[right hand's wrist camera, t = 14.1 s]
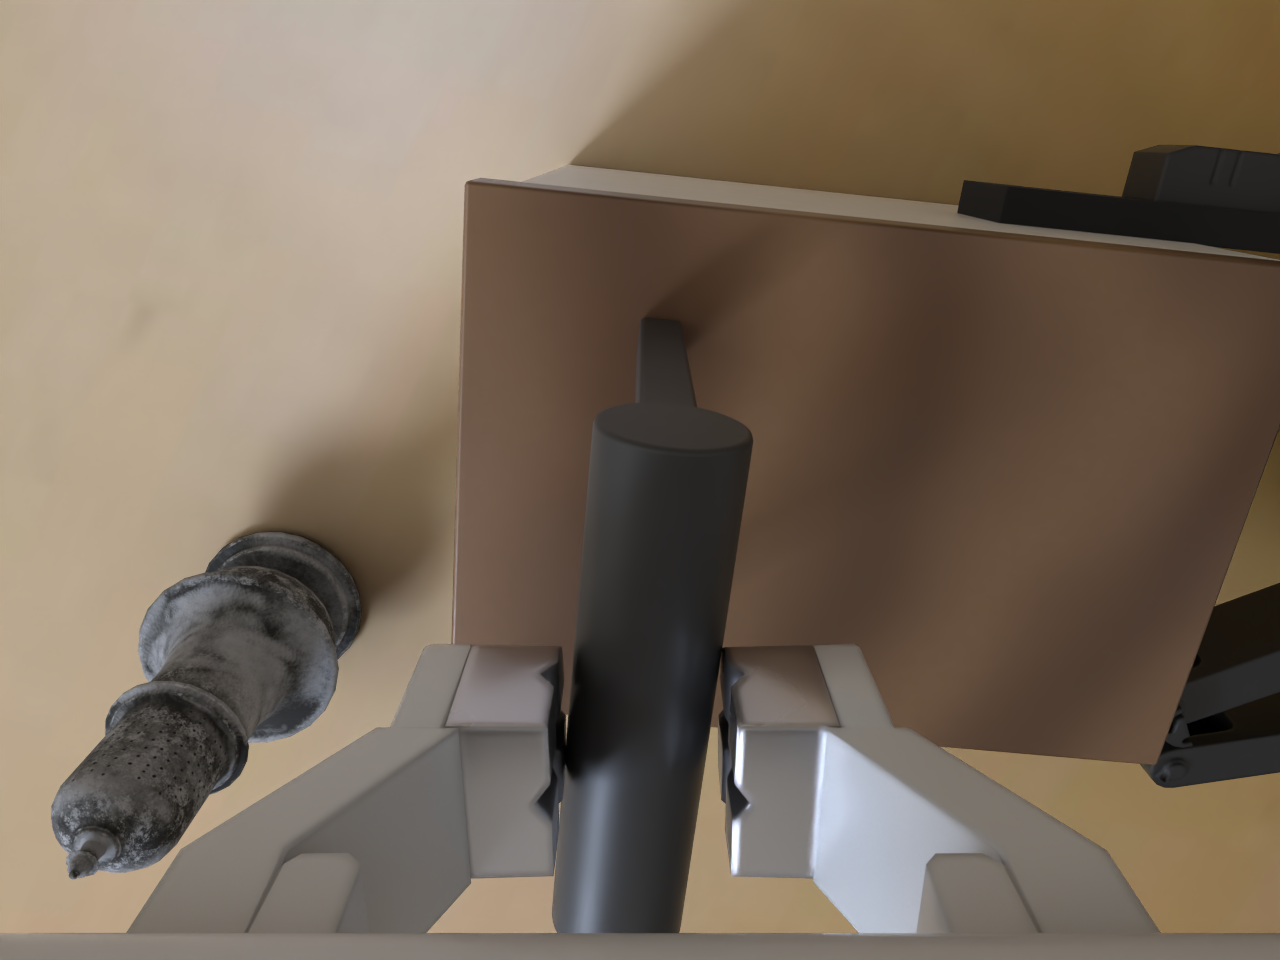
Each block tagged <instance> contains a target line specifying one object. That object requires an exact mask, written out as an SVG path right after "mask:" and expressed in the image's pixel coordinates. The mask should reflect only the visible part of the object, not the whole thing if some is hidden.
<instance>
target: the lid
mask: <svg viewBox="0 0 1280 960" xmlns="http://www.w3.org/2000/svg"><path fill="white" fill-rule="evenodd" d="M1279 427H1280V261H1277V260H1268V259H1258V258H1248V257H1239V256H1229V255H1219V254H1210V253H1200V252H1190V251H1181V250H1171V249H1162V248H1152V247H1142V246H1133V245H1123V244H1113V243H1104V242H1094V241H1084V240H1075V239H1065V238H1055V237H1046V236H1036V235H1026V234H1017V233H1007V232H997V231H988V230H978V229H968V228H959V227H949V226H940V225H930V224H920V223H911V222H901V221H891V220H882V219H872V218H862V217H853V216H843V215H833V214H824V213H814V212H804V211H795V210H785V209H775V208H766V207H756V206H746V205H737V204H727V203H718V202H708V201H698V200H689V199H679V198H669V197H660V196H650V195H640V194H631V193H621V192H611V191H602V190H592V189H582V188H573V187H563V186H553V185H544V184H534V183H524V182H515V181H505V180H496V179H486V178H479V179H474V180H470V181H467V182H466V184H465V196H464V230H463V265H462V299H461V334H460V368H459V403H458V437H457V472H456V506H455V541H454V575H453V610H452V644H471V645H472V646H474V645H520V646H562V652H563V664H564V688H563V696H562V704H561V710H562V711H563V712H564V714H568V727H567V738H566V765H565V782H564V792H563V800H562V801H561V810H560V822H559V835H558V846H557V858H556V869H555V881H554V893H553V905H552V918H553V923H554V927H555V929H556V931H557V933H679V931H680V926H681V920H682V913H683V907H684V900H685V893H686V887H687V880H688V873H689V867H690V860H691V853H692V847H693V840H694V834H695V827H696V820H697V814H698V807H699V800H700V794H701V787H702V780H703V774H704V767H705V760H706V754H707V747H708V740H709V734H710V727H718V715H719V714H720V713H721V711H722V710H723V702H722V694H721V687H720V663H721V654H722V648H724V647H751V646H792V645H831V644H855V645H857V646H858V647H860V649H861V652H862V654H863V656H864V658H865V661H866V663H867V665H868V667H869V670H870V672H871V674H872V676H873V679H874V681H875V683H876V685H877V688H878V690H879V692H880V694H881V697H882V699H883V701H884V703H885V706H886V708H887V710H888V712H889V715H890V717H891V719H892V721H893V724H894V726H895V728H910V729H911V730H913V731H915V732H916V733H918V734H919V735H921V736H923V737H924V738H926V739H927V740H929V741H931V742H932V743H934V744H936V745H937V746H940V747H951V748H963V749H975V750H986V751H998V752H1010V753H1021V754H1033V755H1045V756H1056V757H1068V758H1079V759H1091V760H1103V761H1114V762H1126V763H1138V764H1149V765H1155V764H1157V762H1158V759H1159V757H1160V754H1161V751H1162V748H1163V746H1164V743H1165V740H1166V737H1167V735H1168V732H1169V729H1170V726H1171V724H1172V721H1173V718H1174V715H1175V713H1176V710H1177V707H1178V704H1179V702H1180V699H1181V696H1182V693H1183V691H1184V688H1185V685H1186V682H1187V680H1188V677H1189V674H1190V671H1191V669H1192V666H1193V663H1194V660H1195V658H1196V655H1197V652H1198V649H1199V647H1200V644H1201V641H1202V638H1203V636H1204V633H1205V630H1206V628H1207V625H1208V622H1209V619H1210V617H1211V614H1212V611H1213V608H1214V606H1215V603H1216V600H1217V597H1218V595H1219V592H1220V589H1221V586H1222V584H1223V581H1224V578H1225V575H1226V573H1227V570H1228V567H1229V564H1230V562H1231V559H1232V556H1233V553H1234V551H1235V548H1236V545H1237V542H1238V540H1239V537H1240V534H1241V531H1242V529H1243V526H1244V523H1245V520H1246V518H1247V515H1248V512H1249V509H1250V507H1251V504H1252V501H1253V498H1254V496H1255V493H1256V490H1257V487H1258V485H1259V482H1260V479H1261V476H1262V474H1263V471H1264V468H1265V465H1266V463H1267V460H1268V457H1269V454H1270V452H1271V449H1272V446H1273V443H1274V441H1275V438H1276V435H1277V432H1278V430H1279Z"/></svg>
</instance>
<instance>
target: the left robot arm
mask: <svg viewBox="0 0 1280 960" xmlns="http://www.w3.org/2000/svg"><path fill="white" fill-rule="evenodd" d="M957 213H959V214H963V215H968V216H972V217H976V218H980V219H984V220H989V221H993V222H997V223H1003V224H1012V225H1022V226H1032V227H1041V228H1051V229H1060V230H1070V231H1080V232H1089V233H1099V234H1109V235H1118V236H1128V237H1138V238H1147V239H1157V240H1167V241H1176V242H1186V243H1195V244H1200V245H1205V246H1211V247H1221V248H1230V249H1240V250H1249V251H1259V252H1268V253H1278V254H1280V153H1279V154H1269V153H1260V152H1251V151H1240V150H1232V149H1222V148H1214V147H1205V146H1195V145H1157V146H1154V147H1150V148H1147V149H1143V150H1140V151H1137V152H1134V155H1133V158H1132V162H1131V166H1130V169H1129V173H1128V177H1127V180H1126V184H1125V187H1124V191H1123V195H1122V197H1117V196H1107V195H1098V194H1088V193H1079V192H1070V191H1060V190H1051V189H1041V188H1032V187H1022V186H1013V185H1004V184H994V183H985V182H975V181H966V180H964V183H963V188H962V192H961V197H960V202H959V206H958V211H957ZM1140 765H1141V766H1142V767H1143V769H1144V770H1145V771H1146V772H1147V774H1148V775H1149V776H1150V777H1151V779H1152V780H1153V781H1154V782H1155V783H1156V784H1157V785H1159V786H1162V787H1165V788H1174V787H1181V786H1188V785H1195V784H1202V783H1209V782H1216V781H1223V780H1230V779H1237V778H1244V777H1250V776H1257V775H1264V774H1271V773H1278V772H1280V583H1278V584H1275V585H1272V586H1270V587H1267V588H1264V589H1261V590H1259V591H1256V592H1253V593H1250V594H1248V595H1245V596H1242V597H1239V598H1237V599H1234V600H1231V601H1228V602H1225V603H1223V604H1220V605H1217V606H1214V608H1213V611H1212V614H1211V617H1210V619H1209V622H1208V625H1207V628H1206V630H1205V633H1204V636H1203V638H1202V641H1201V644H1200V647H1199V649H1198V652H1197V655H1196V658H1195V660H1194V663H1193V666H1192V669H1191V671H1190V674H1189V677H1188V680H1187V682H1186V685H1185V688H1184V691H1183V693H1182V696H1181V699H1180V702H1179V704H1178V707H1177V710H1176V713H1175V715H1174V718H1173V721H1172V724H1171V726H1170V729H1169V732H1168V735H1167V737H1166V740H1165V743H1164V746H1163V748H1162V751H1161V754H1160V757H1159V759H1158V762H1157V764H1155V765H1149V764H1140Z"/></svg>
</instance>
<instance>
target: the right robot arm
mask: <svg viewBox="0 0 1280 960" xmlns="http://www.w3.org/2000/svg"><path fill="white" fill-rule="evenodd" d="M720 687H721V694H722V702H723V710H722V711H721V713H720V714H719V715H718V769H719V781H720V791H721V800H722V801H723V802H725V803H726V817H725V832H726V840H727V847H728V854H729V862H730V869H731V876H744V877H781V878H814V883H815V884H816V885H817V887H818V888H819V889H820V890H821V891H822V892H823V893H824V894H825V895H826V897H827V898H828V899H829V900H830V901H831V902H832V903H833V904H834V905H835V907H836V908H837V909H838V910H839V911H840V912H841V913H842V914H843V915H844V916H845V918H846V919H847V920H848V921H849V922H850V923H851V924H852V925H853V926H854V928H855V929H856V930H857V931H858V932H859V933H427V931H428V930H429V929H430V928H431V927H432V926H433V925H434V924H435V923H436V921H437V920H438V919H439V918H440V917H441V916H442V915H443V914H444V913H445V911H446V910H447V909H448V908H449V907H450V906H451V905H452V904H453V903H454V901H455V900H456V899H457V898H458V897H459V896H460V895H461V894H462V893H463V891H464V890H465V889H466V888H467V887H468V886H469V885H470V884H471V878H503V877H538V876H553V875H554V867H555V859H556V851H557V843H558V835H559V803H560V802H561V801H562V800H563V792H564V782H565V765H566V715H565V714H564V712H563V711H562V710H561V704H562V696H563V688H564V664H563V652H562V646H520V645H474V646H472V645H471V644H437V645H429V646H427V647H425V648H424V649H423V651H422V654H421V656H420V658H419V661H418V663H417V665H416V668H415V670H414V672H413V675H412V677H411V679H410V682H409V684H408V686H407V689H406V691H405V693H404V696H403V698H402V700H401V703H400V705H399V707H398V710H397V712H396V714H395V717H394V719H393V721H392V723H391V726H390V728H375V729H374V730H372V731H371V732H369V733H367V734H366V735H364V736H363V737H361V738H359V739H358V740H356V741H354V742H353V743H351V744H350V745H348V746H346V747H345V748H343V749H342V750H340V751H338V752H337V753H335V754H334V755H332V756H330V757H329V758H327V759H325V760H324V761H322V762H321V763H319V764H317V765H316V766H314V767H313V768H311V769H309V770H308V771H306V772H305V773H303V774H301V775H300V776H298V777H297V778H295V779H293V780H292V781H290V782H288V783H287V784H285V785H284V786H282V787H280V788H279V789H277V790H276V791H274V792H272V793H271V794H269V795H268V796H266V797H264V798H263V799H261V800H259V801H258V802H256V803H255V804H253V805H251V806H250V807H248V808H247V809H245V810H243V811H242V812H240V813H239V814H237V815H235V816H234V817H232V818H231V819H229V820H227V821H226V822H224V823H222V824H221V825H219V826H218V827H216V828H214V829H213V830H211V831H210V832H208V833H206V834H205V835H203V836H202V837H200V838H198V839H197V840H195V841H193V842H192V843H190V844H189V845H187V846H185V847H184V848H182V849H181V850H180V851H179V853H178V855H177V856H176V858H175V859H174V861H173V862H172V864H171V865H170V867H169V868H168V870H167V871H166V873H165V874H164V876H163V877H162V879H161V881H160V882H159V884H158V885H157V887H156V888H155V890H154V891H153V893H152V894H151V896H150V897H149V899H148V900H147V902H146V904H145V905H144V907H143V908H142V910H141V911H140V913H139V914H138V916H137V917H136V919H135V920H134V922H133V923H132V925H131V927H130V928H129V930H128V931H127V933H0V960H1280V933H1160V931H1159V930H1158V928H1157V927H1156V925H1155V923H1154V922H1153V920H1152V919H1151V917H1150V916H1149V914H1148V913H1147V911H1146V910H1145V908H1144V907H1143V905H1142V904H1141V902H1140V901H1139V899H1138V897H1137V896H1136V894H1135V893H1134V891H1133V890H1132V888H1131V887H1130V885H1129V884H1128V882H1127V881H1126V879H1125V878H1124V876H1123V875H1122V873H1121V872H1120V870H1119V868H1118V867H1117V865H1116V864H1115V862H1114V861H1113V859H1112V858H1111V856H1110V855H1109V853H1108V852H1107V850H1105V849H1103V848H1102V847H1100V846H1098V845H1097V844H1095V843H1094V842H1092V841H1090V840H1089V839H1087V838H1086V837H1084V836H1082V835H1081V834H1079V833H1077V832H1076V831H1074V830H1073V829H1071V828H1069V827H1068V826H1066V825H1065V824H1063V823H1061V822H1060V821H1058V820H1057V819H1055V818H1053V817H1052V816H1050V815H1048V814H1047V813H1045V812H1044V811H1042V810H1040V809H1039V808H1037V807H1036V806H1034V805H1032V804H1031V803H1029V802H1027V801H1026V800H1024V799H1023V798H1021V797H1019V796H1018V795H1016V794H1015V793H1013V792H1011V791H1010V790H1008V789H1007V788H1005V787H1003V786H1002V785H1000V784H998V783H997V782H995V781H994V780H992V779H990V778H989V777H987V776H986V775H984V774H982V773H981V772H979V771H977V770H976V769H974V768H973V767H971V766H969V765H968V764H966V763H965V762H963V761H961V760H960V759H958V758H956V757H955V756H953V755H952V754H950V753H948V752H947V751H945V750H944V749H942V748H940V747H939V746H937V745H936V744H934V743H932V742H931V741H929V740H927V739H926V738H924V737H923V736H921V735H919V734H918V733H916V732H915V731H913V730H911V729H910V728H895V726H894V724H893V721H892V719H891V717H890V715H889V712H888V710H887V708H886V706H885V703H884V701H883V699H882V697H881V694H880V692H879V690H878V688H877V685H876V683H875V681H874V679H873V676H872V674H871V672H870V670H869V667H868V665H867V663H866V661H865V658H864V656H863V654H862V652H861V649H860V647H858V646H857V645H855V644H831V645H792V646H751V647H724V648H722V654H721V663H720Z"/></svg>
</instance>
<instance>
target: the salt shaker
mask: <svg viewBox="0 0 1280 960" xmlns="http://www.w3.org/2000/svg"><path fill="white" fill-rule="evenodd" d="M361 614H362V609H361V603H360V596H359V592H358V590H357V587H356V585H355V583H354V581H353V578H352V576H351V575H350V573H349V572H348V571H347V570H346V568H345V567H344V566H343V565H342V563H341V562H340V561H339V560H338V559H337V558H336V557H335V556H333V555H332V554H331V553H330V552H328V551H327V550H326V549H325V548H323V547H322V546H320V545H318V544H316V543H314V542H312V541H310V540H308V539H305V538H303V537H301V536H296V535H292V534H287V533H283V532H258V533H255V534H251V535H248V536H244V537H240V538H238V539H237V540H235V541H233V542H232V543H230V544H228V545H227V546H225V547H223V548H222V549H221V550H220V552H219V553H218V554H217V555H216V556H215V557H214V558H213V559H212V561H211V562H210V563H209V565H208V567H207V570H206V572H205V573H202V574H199V575H195V576H191V577H188V578H184V579H183V580H181V581H179V582H178V583H176V584H174V585H173V586H171V587H169V588H168V589H166V590H164V591H163V592H162V593H161V595H160V596H159V597H158V598H157V599H156V600H155V602H154V603H153V604H152V605H151V606H150V607H149V608H148V610H147V612H146V615H145V617H144V620H143V622H142V625H141V627H140V631H139V648H138V652H139V656H140V660H141V664H142V668H143V672H144V675H145V677H146V678H147V680H148V682H149V683H144V684H140V685H137V686H135V687H133V688H132V689H130V690H128V691H126V692H125V693H123V694H122V695H121V696H120V697H119V699H118V700H117V701H116V702H115V703H114V704H113V705H112V706H111V708H110V711H109V713H108V716H107V718H106V726H105V737H104V738H103V739H102V740H101V742H100V743H99V744H98V745H97V746H96V747H95V748H94V749H93V751H92V752H91V753H90V754H89V755H88V756H87V757H86V758H85V759H84V761H83V762H82V763H81V764H80V765H79V766H78V767H77V768H76V770H75V771H74V772H73V773H72V774H71V775H70V776H69V777H68V778H67V780H66V781H65V782H64V783H63V784H62V785H61V787H60V789H59V791H58V793H57V795H56V797H55V799H54V802H53V804H52V807H51V820H52V827H53V830H54V834H55V837H56V839H57V840H58V842H59V843H60V845H61V846H62V848H63V849H64V850H65V851H66V852H67V853H68V854H69V855H68V856H67V861H66V864H67V865H68V869H67V871H68V872H69V877H70V878H71V879H76V878H82V877H85V876H89V875H94V874H95V873H96V872H97V871H98V870H101V871H106V872H111V873H117V872H129V871H134V870H138V869H142V868H146V867H149V866H150V865H152V864H154V863H156V862H158V861H160V860H161V859H162V858H163V857H164V856H165V855H166V854H167V853H168V852H169V851H170V850H171V849H172V848H173V847H174V846H175V845H176V844H177V843H178V841H179V840H180V838H181V837H182V835H183V834H184V832H185V831H186V829H187V828H188V826H189V825H190V823H191V822H192V820H193V819H194V817H195V816H196V814H197V812H198V811H199V809H200V808H201V806H202V805H203V803H204V802H205V800H206V799H207V797H208V796H209V794H214V793H217V792H218V791H220V790H222V789H224V788H226V787H228V786H230V785H231V784H232V783H233V782H234V781H235V780H236V779H237V778H238V777H239V776H240V774H241V772H242V770H243V768H244V766H245V764H246V762H247V758H248V749H249V745H248V743H250V742H270V741H274V740H278V739H282V738H286V737H290V736H292V735H294V734H296V733H298V732H299V731H301V730H303V729H305V728H307V727H308V726H310V725H311V724H312V723H313V722H314V721H315V720H316V719H317V718H318V717H319V716H320V715H321V714H322V713H323V712H324V711H325V710H326V708H327V706H328V704H329V702H330V700H331V698H332V696H333V694H334V692H335V690H336V683H337V677H338V670H339V668H338V661H337V659H339V657H340V656H341V655H342V654H343V653H344V652H345V651H346V650H347V649H348V648H349V647H350V646H351V644H352V642H353V640H354V638H355V636H356V634H357V632H358V630H359V626H360V620H361Z"/></svg>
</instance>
